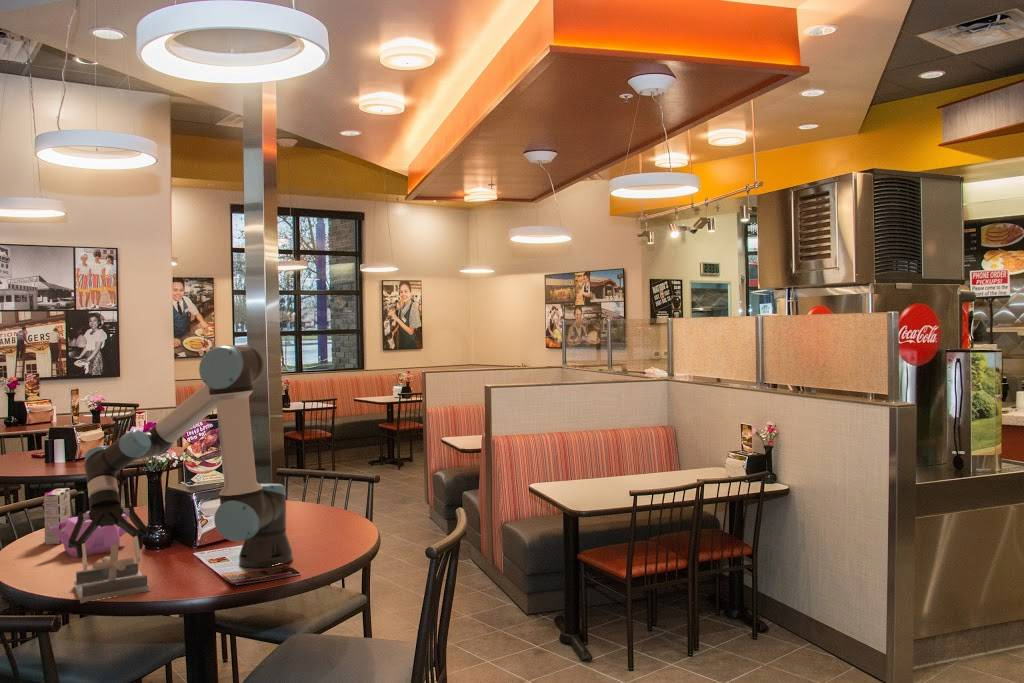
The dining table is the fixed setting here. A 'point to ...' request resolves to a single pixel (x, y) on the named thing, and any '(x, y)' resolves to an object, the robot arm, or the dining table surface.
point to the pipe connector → (113, 563)
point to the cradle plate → (133, 591)
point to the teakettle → (97, 540)
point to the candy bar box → (56, 513)
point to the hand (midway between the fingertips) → (112, 563)
